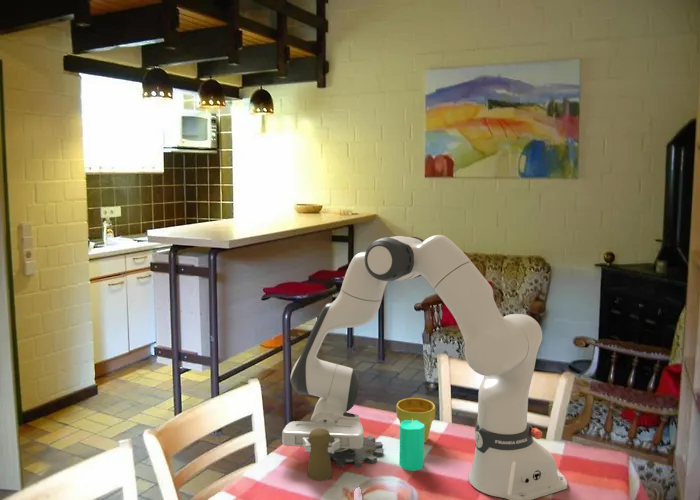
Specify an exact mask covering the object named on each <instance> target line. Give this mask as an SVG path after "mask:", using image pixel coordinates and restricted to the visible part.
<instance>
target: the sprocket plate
mask: <svg viewBox="0 0 700 500" xmlns="http://www.w3.org/2000/svg"><path fill="white" fill-rule="evenodd" d="M383 447H384V445H383V443H382V442H381V441H376V438H375V436H373V435H368V436H365V437H364V436H363V447H362V448H360V449H348V448H339V449H337V450H335V451H334V453H330V460H331V462H334V463H336V467H340V468H345V466H346V465H353V467H354V468H359V467H360V468H361V467H363V463H365V462H368V463H370V464H372V465H373V464H374V463H376V462H377V461H378V457H383V455H384V448H383Z"/></svg>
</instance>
